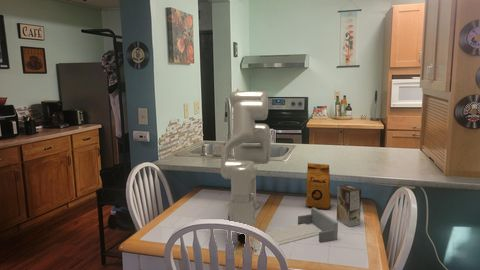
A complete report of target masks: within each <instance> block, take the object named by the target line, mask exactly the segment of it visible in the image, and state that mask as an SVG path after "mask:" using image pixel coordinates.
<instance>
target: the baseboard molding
mask: <svg viewBox="0 0 480 270" xmlns="http://www.w3.org/2000/svg"><path fill="white" fill-rule="evenodd" d="M319 232H320V231H319V230H316V229H315V228H313V227H311V226H310V225H309V224H300V225H298V224H297V225H292V226H289V227H285V228H284V227H283V228H280V229H275V230H271V231H270V230H269V231H267V232H265V233H266V234H268V235H269V236H270V237H271V238H272V239H273V240H274V241H275V242H277V243H278V244H279V245H278V246H281V245H285V244H289V243H293V242H298V241H301V240H305V239H308V238H312V237H316V236H319ZM250 241H251V246H252V248H253V249H254V250H255V251H254V250H253V249H252V248H251V249H252V250H253V251H254V252H255V253H257V252H258V251H257V250H259V251H261V250H260V247H261V244H260V242H258V241H257V240H255V239H254V238H251V237H250Z"/></svg>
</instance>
